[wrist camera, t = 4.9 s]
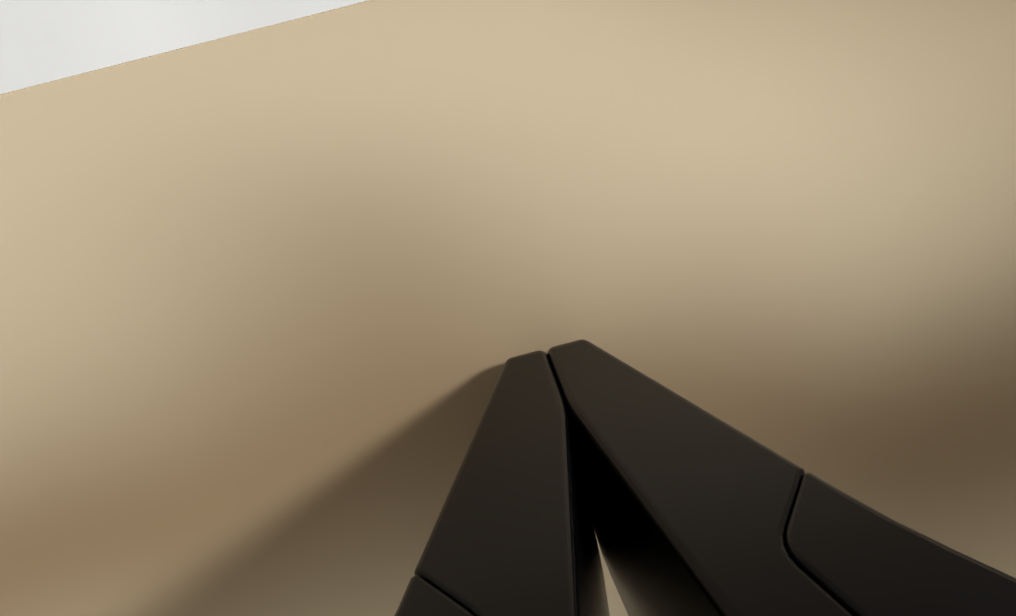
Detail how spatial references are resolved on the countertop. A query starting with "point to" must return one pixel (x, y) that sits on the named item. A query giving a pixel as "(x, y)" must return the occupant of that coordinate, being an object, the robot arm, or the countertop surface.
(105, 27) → the countertop surface
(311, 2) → the countertop surface
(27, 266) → the birch lid
